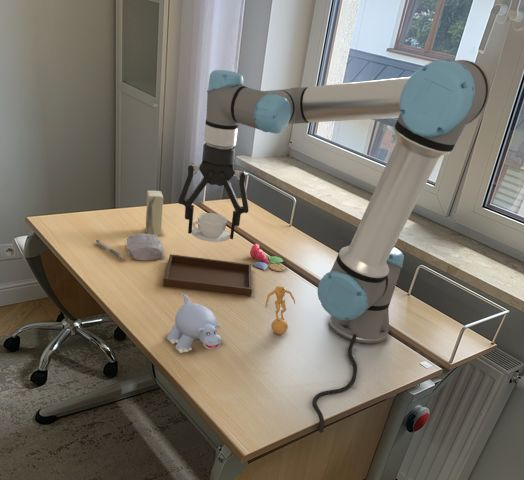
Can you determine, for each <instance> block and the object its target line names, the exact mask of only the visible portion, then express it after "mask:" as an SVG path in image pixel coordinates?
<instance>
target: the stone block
mask: <svg viewBox="0 0 524 480" xmlns="http://www.w3.org/2000/svg"><path fill="white" fill-rule="evenodd" d="M126 249H127V253H128V255H129V257H131V258H132V259H134V260H139V261H143V262H145V261H156V260H157V261H158V260H162V259H163V258H164V246H163V243H162V242H161V241H160V239H159V235H157V234H155V235H151V234H147V233H135V234H130V235H129V236H127V237H126Z"/></svg>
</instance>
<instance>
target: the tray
mask: <svg viewBox="0 0 524 480" xmlns="http://www.w3.org/2000/svg"><path fill="white" fill-rule="evenodd" d="M252 275H253V274H252V264H251V263H245V262H236V261H230V260H229V261H227V260H219V259H213V258H206V257H205V258H204V257H197V256H189V255H188V256H187V255H179V254H171V253H170V254H169V256H168V260H167V264H166V267H165V271H164V274H163V280H162V287H164V288H165V287H166V288H173V289H180V290H181V289H182V290H189V291H190V290H191V291H199V292H207V293H216V294H217V293H218V294H225V295H233V296H241V297H250V298H251V297H252V291H253V285H252V284H253V281H252V280H253V279H252V277H253V276H252Z"/></svg>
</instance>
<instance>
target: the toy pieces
mask: <svg viewBox="0 0 524 480" xmlns="http://www.w3.org/2000/svg"><path fill="white" fill-rule="evenodd" d="M249 255H250V257H251V258H252V259H255V260H259V261H254V262H253V263H252V265H253V266H254V267H255V268H257V269H260V270H263V271H265V270H266V269H267V268H269V269H270V270H272V271H275V272H284V270H285V269H286V267H285V266H283V265H282V264H281V263H284V259H282V257H279V256H276V255H275V256H274V255H272V256H271V255H269V257H267V256H266V255H265V253H264V252H263V249H261V248H260V245H259V244H258V243H254V244H253V245H252V246H251V248H250V251H249ZM279 263H280V264H279ZM268 264H269V265H268Z"/></svg>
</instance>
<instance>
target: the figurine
mask: <svg viewBox="0 0 524 480" xmlns="http://www.w3.org/2000/svg"><path fill="white" fill-rule="evenodd" d="M286 293H287V294H289V296H290V298H291V299H292V300H293V304H296V300H295V297H294V296H293V294H292V292H291V291H290V290H288V289H286V288H285V286H281V285H277V286H276V287H275V289H273V290H272V291H271V292H269V293H268V294H267V297H266V301H265V306H264V308H265V309H267V307H268V306H269V304H268V303H269V300H270V297H271V296H272V295H274V294H275V297H276V300H274V305H275V309H276V310H275V318H276V319H274V320H273V321H272V323H271V330H272V332H273V333H274V334H276V335H284V334H285V333H286V332H287V331H288V328H289V326H288V325H289V324H288V322H287V320H286V319H285V318H284V312H286V311H287V307H286V299H284V297H285V295H286ZM281 308H282V309H281ZM279 313H280V318H279Z"/></svg>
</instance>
